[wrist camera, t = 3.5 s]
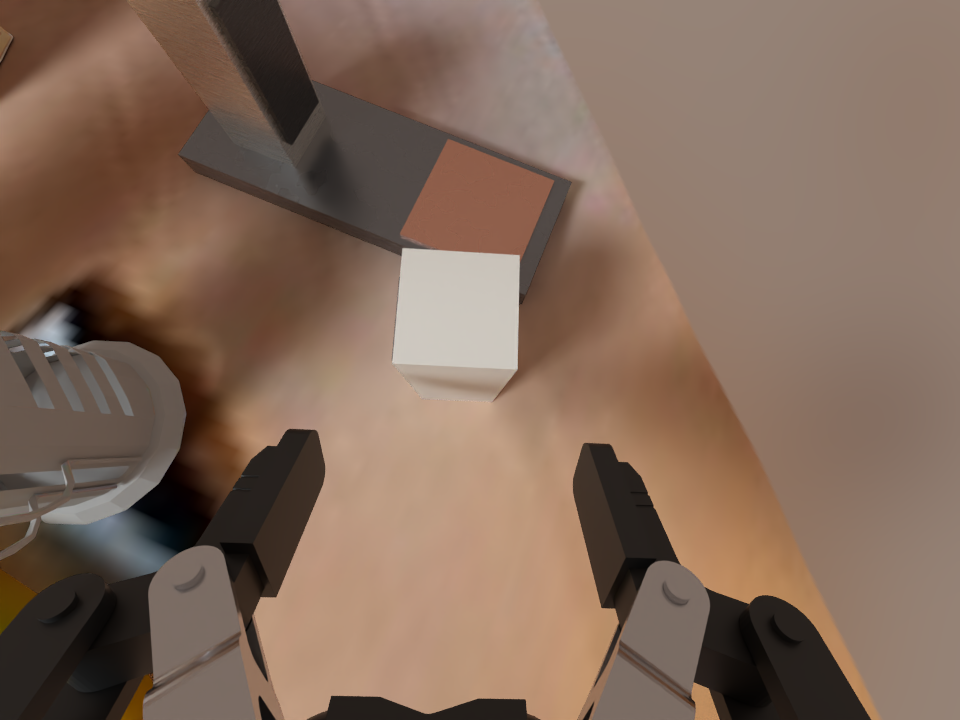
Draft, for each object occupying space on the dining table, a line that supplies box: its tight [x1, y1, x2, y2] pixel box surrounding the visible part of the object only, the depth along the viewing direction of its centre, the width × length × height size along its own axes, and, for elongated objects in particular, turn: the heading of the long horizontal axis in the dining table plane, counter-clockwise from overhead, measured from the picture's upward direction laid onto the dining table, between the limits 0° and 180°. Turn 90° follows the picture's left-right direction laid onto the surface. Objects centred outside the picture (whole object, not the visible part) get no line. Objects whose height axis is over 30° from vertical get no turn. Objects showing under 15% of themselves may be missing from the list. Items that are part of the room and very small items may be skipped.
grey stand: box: [127, 0, 572, 304], centre depth 19 cm, size 22×8×12 cm, turn 68°
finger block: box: [392, 248, 520, 402], centre depth 18 cm, size 4×4×10 cm
